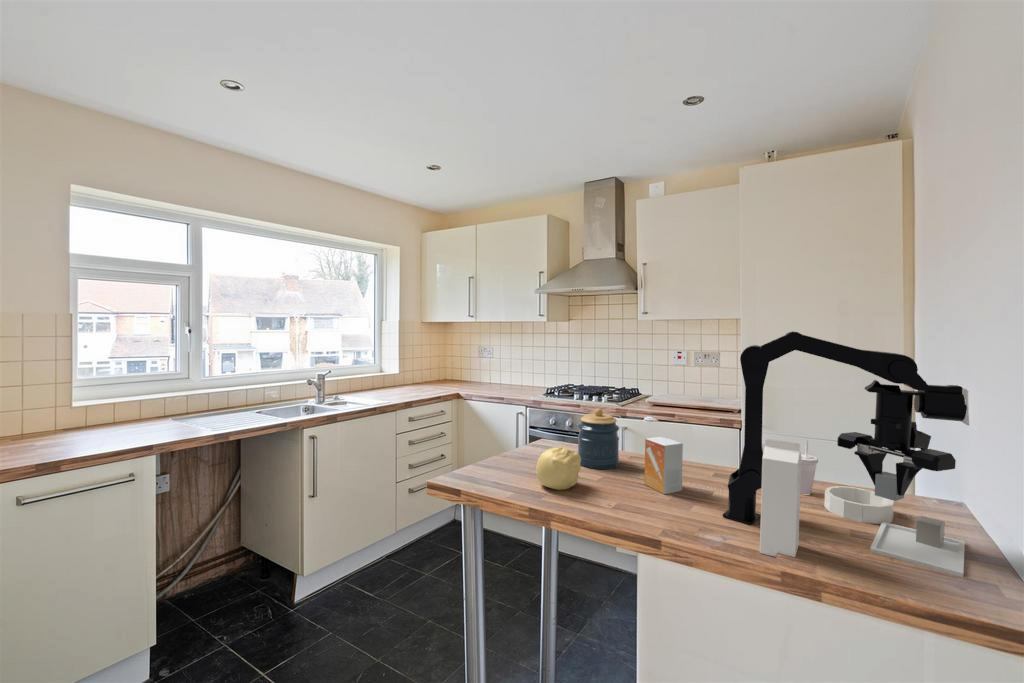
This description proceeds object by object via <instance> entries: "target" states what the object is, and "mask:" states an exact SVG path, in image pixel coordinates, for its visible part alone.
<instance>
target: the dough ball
mask: <svg viewBox="0 0 1024 683" xmlns="http://www.w3.org/2000/svg"><path fill="white" fill-rule="evenodd" d="M536 462H537V463H536V465H535V466H536V467H535V469H536V470H535V472H536V478H537V479H538V481H539V483H540V484H541V485H542V486H544V487H547V488H549V489H552V490H555V491H556V490H558V491H565V490H568V489H570V488H571V487H574V486H575V485H576V483H578V480H579V477H580V476H579V474H580V471H581V466H582V465H580V462H581V457H580V455H579V454H578V452H576V451H575V450H573V449H569V448H567V447H564V446H562V445H560V446H559V447H553V448H549V449H547V450H544V452H542V453H541V455H540V456H539V457H538V459H537V461H536Z"/></svg>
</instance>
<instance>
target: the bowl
mask: <svg viewBox="0 0 1024 683" xmlns="http://www.w3.org/2000/svg"><path fill="white" fill-rule="evenodd" d="M894 506H895V501H893V500H890V499H886V498H883V497H879V496H876V495H875V490H874V491H873V490H870V489H863V488H859V487H856V486H855V487H854V486H846V485H845V486H841V485H835V486H828V487H827V488H826V489H825V490H824V508H825V509H827V511H829V513H831V514H833V515H836V516H838V517H841V518H844V519H846V520H851V521H855V522H860V523H865V524H873V525H874V524H876V525H881V523H882V522H886V523H891V524H892V522H893V519H894V513H895V512H894V508H895V507H894Z"/></svg>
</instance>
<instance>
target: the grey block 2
mask: <svg viewBox="0 0 1024 683" xmlns="http://www.w3.org/2000/svg"><path fill="white" fill-rule="evenodd" d="M945 524H946V522H945V521H944V520H939V519H936V518H932V517H928V516H923V515H921V516H919V517H918V518H917V519H916V526H915V527H916V528H915V529H916V542H919V543H922V544H926V545H929V546H933V547H936V548H940V547H941V546H942V545H943V544H944V536H945V529H946V527H945Z"/></svg>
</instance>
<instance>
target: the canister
mask: <svg viewBox="0 0 1024 683" xmlns="http://www.w3.org/2000/svg"><path fill="white" fill-rule="evenodd" d="M617 421H618V420H617V418H615V417H613V416H612V415H611V414H608V413H607V414H606V413H604V410H602V408H600V407H599V408H596V409H595V410H594V411H593V413H587V414H585V415H584V416H582V417H580V422H581V423H579V424H578V425H577V428H578V430H579V434H578V435H577V453H578V454H579V455H580V457H581V462H580V465H581V466H583V467H585V468H589V469H594V470H595V469H596V470H609V469H614V468H615V467H616V468H617V467H618V464H619V459H620V457H619V445H620V444H619V440H620V437H619V435H618V431H620V426H619V425H618V424H617Z"/></svg>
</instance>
